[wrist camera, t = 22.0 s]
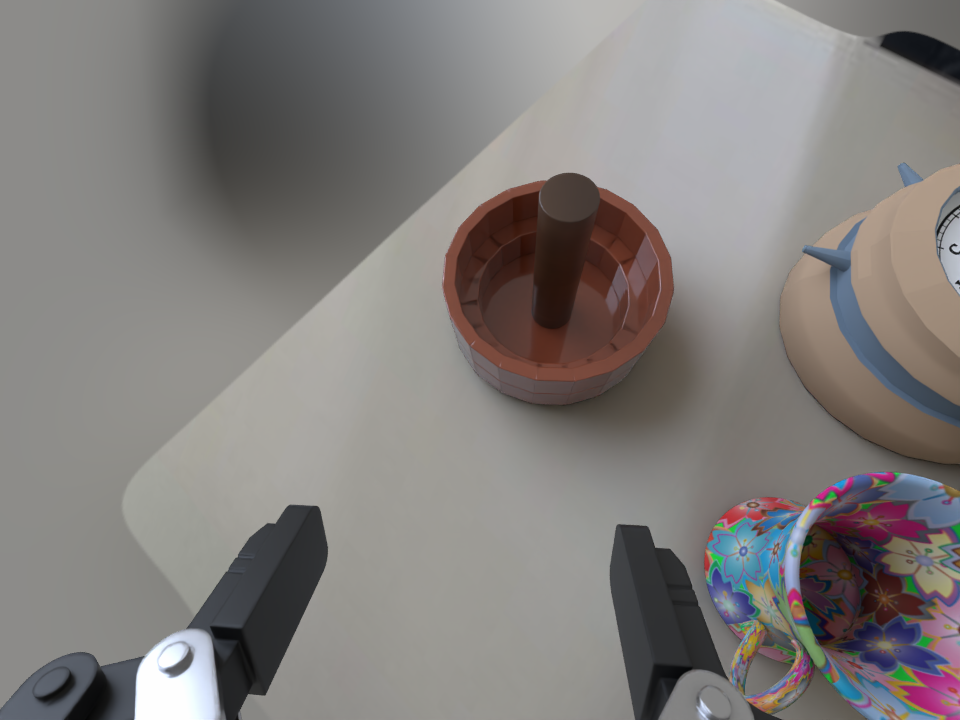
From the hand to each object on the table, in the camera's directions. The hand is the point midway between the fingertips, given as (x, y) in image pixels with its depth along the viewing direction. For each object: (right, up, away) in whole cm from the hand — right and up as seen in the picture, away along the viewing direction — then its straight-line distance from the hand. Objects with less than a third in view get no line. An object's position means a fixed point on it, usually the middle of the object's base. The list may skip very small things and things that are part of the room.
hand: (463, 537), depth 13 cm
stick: (+5, +8, +20) cm, 23 cm away
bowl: (+5, +8, +21) cm, 23 cm away
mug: (+16, -8, +14) cm, 23 cm away
